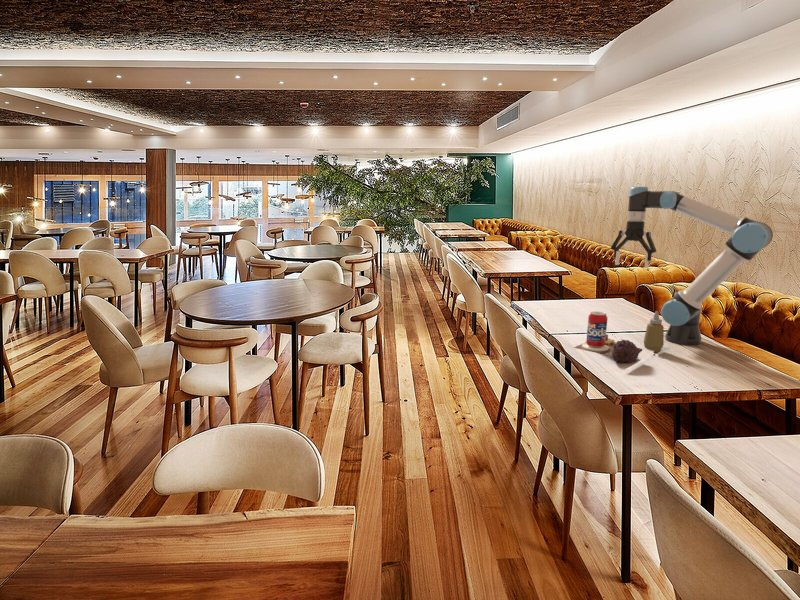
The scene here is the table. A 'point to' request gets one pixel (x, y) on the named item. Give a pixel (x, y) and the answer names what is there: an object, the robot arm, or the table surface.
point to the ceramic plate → (587, 347)
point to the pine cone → (625, 351)
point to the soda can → (596, 329)
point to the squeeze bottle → (654, 334)
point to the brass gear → (608, 341)
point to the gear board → (596, 351)
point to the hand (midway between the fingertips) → (631, 266)
